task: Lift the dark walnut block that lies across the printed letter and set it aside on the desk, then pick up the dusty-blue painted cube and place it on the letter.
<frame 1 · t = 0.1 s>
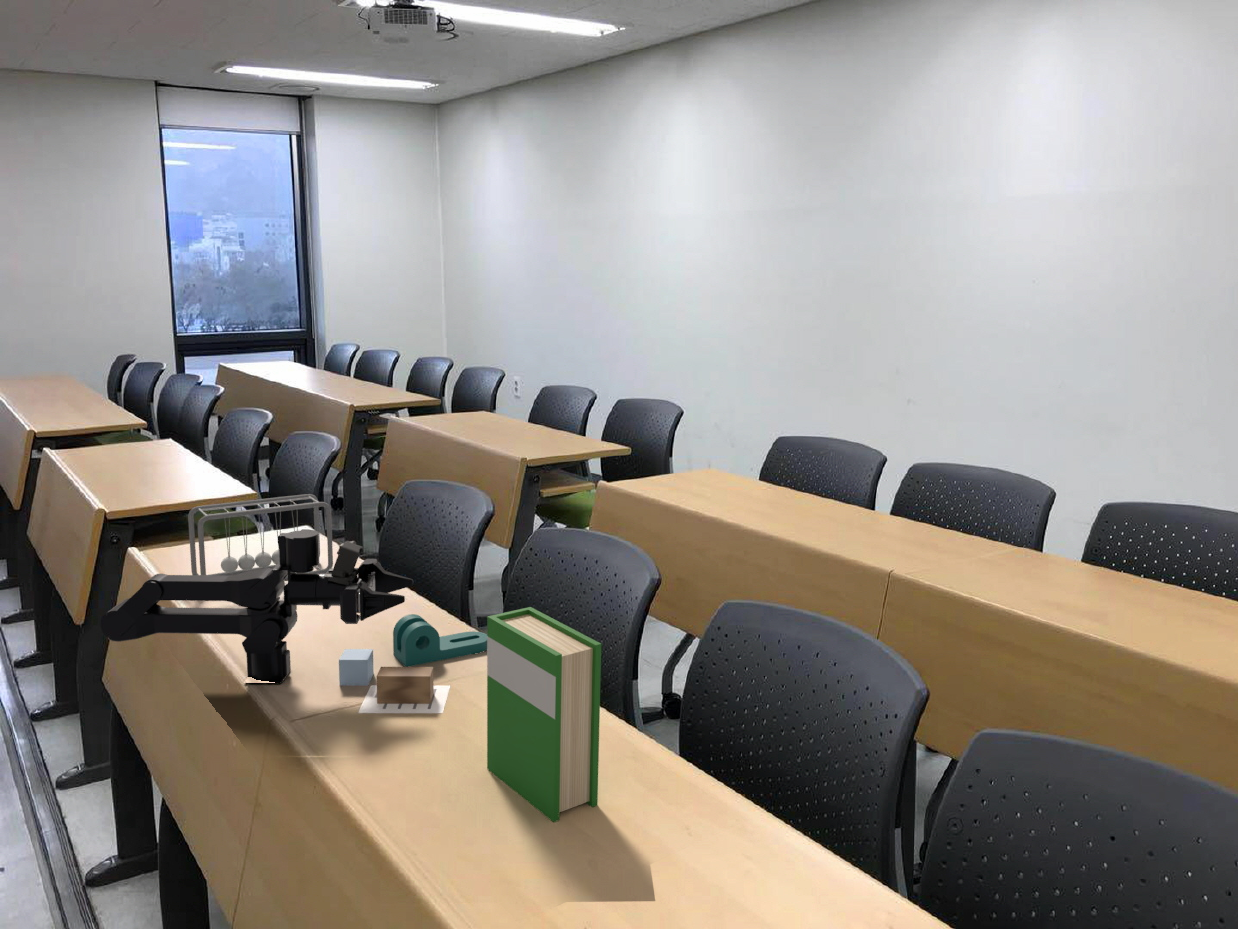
hand: (408, 590, 175), 17 cm above the table, tool horizontal, fingers open, 9 cm apart
bracket: (444, 654, 190), on the table
letter: (405, 699, 169), on the table
newton's cradle: (264, 577, 233), on the table
walnut block: (405, 698, 169), resting on letter
hardback book: (540, 788, 142), on the table
cube: (356, 680, 177), on the table
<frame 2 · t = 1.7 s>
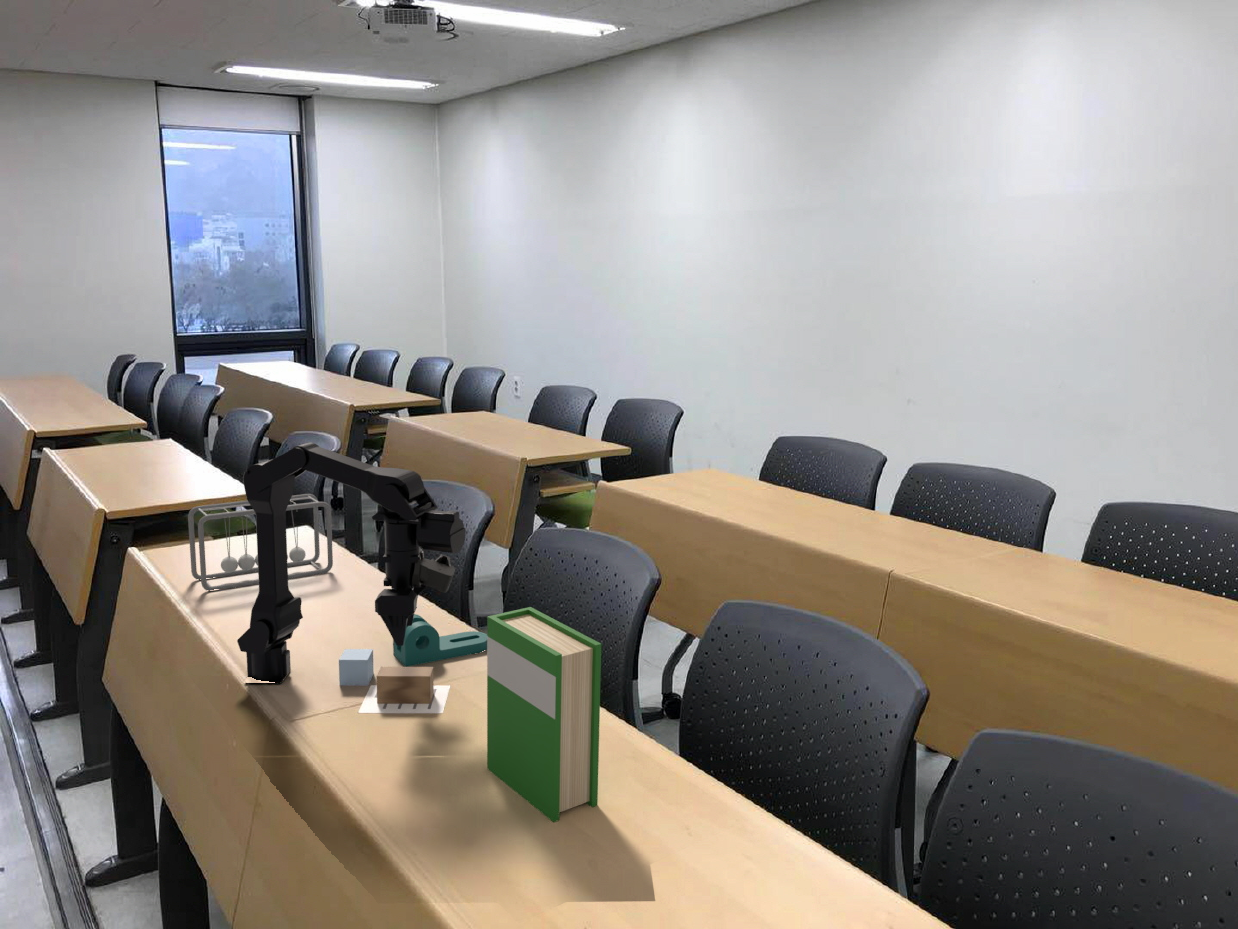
hand: (404, 635, 167), 12 cm above the table, tool pointing down, fingers open, 9 cm apart
nothing on the table moved.
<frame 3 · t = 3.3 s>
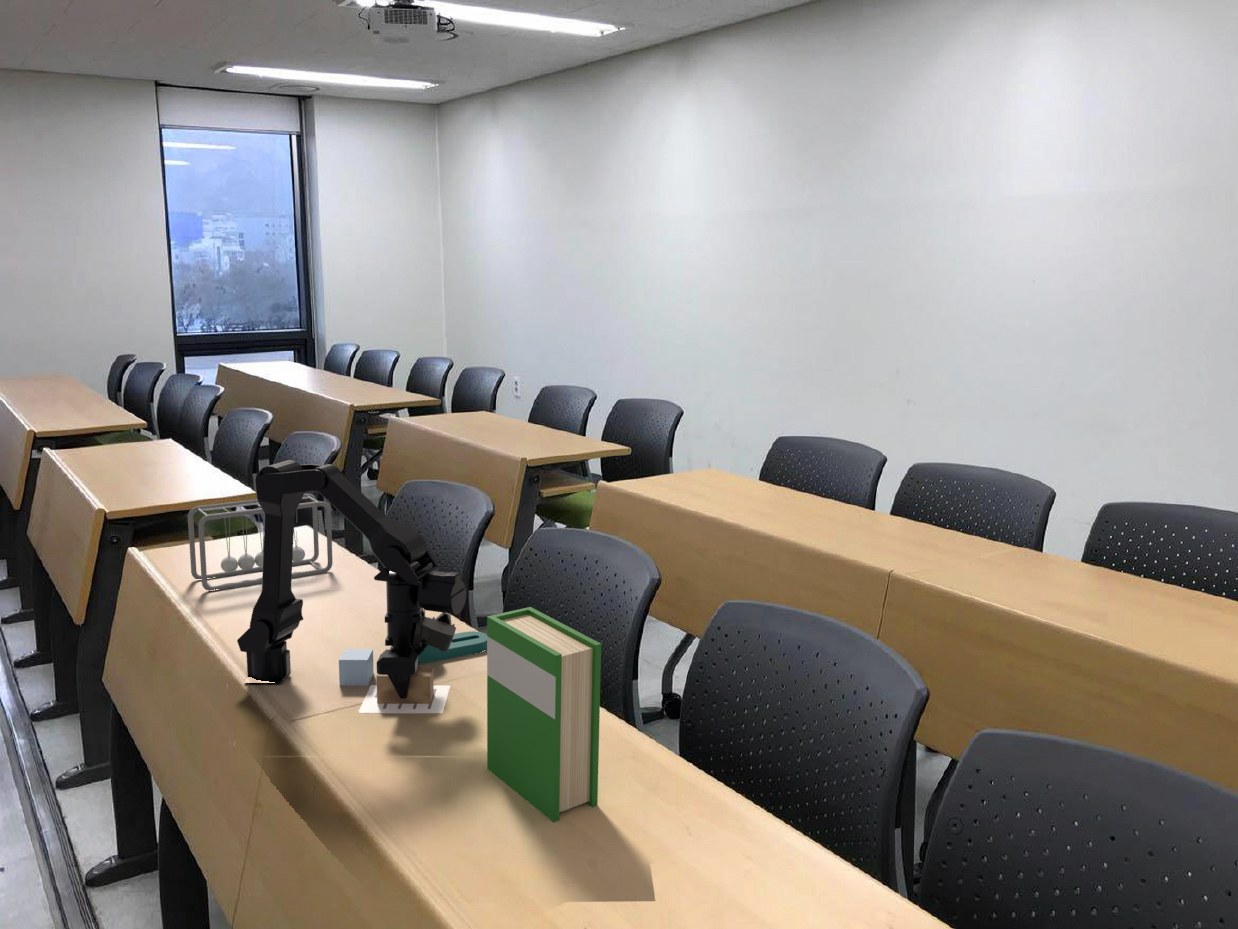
hand: (405, 692, 169), 1 cm above the table, tool pointing down, fingers closed on walnut block, 4 cm apart
walnut block: (405, 698, 169), resting on letter, touching gripper
everything else where it was.
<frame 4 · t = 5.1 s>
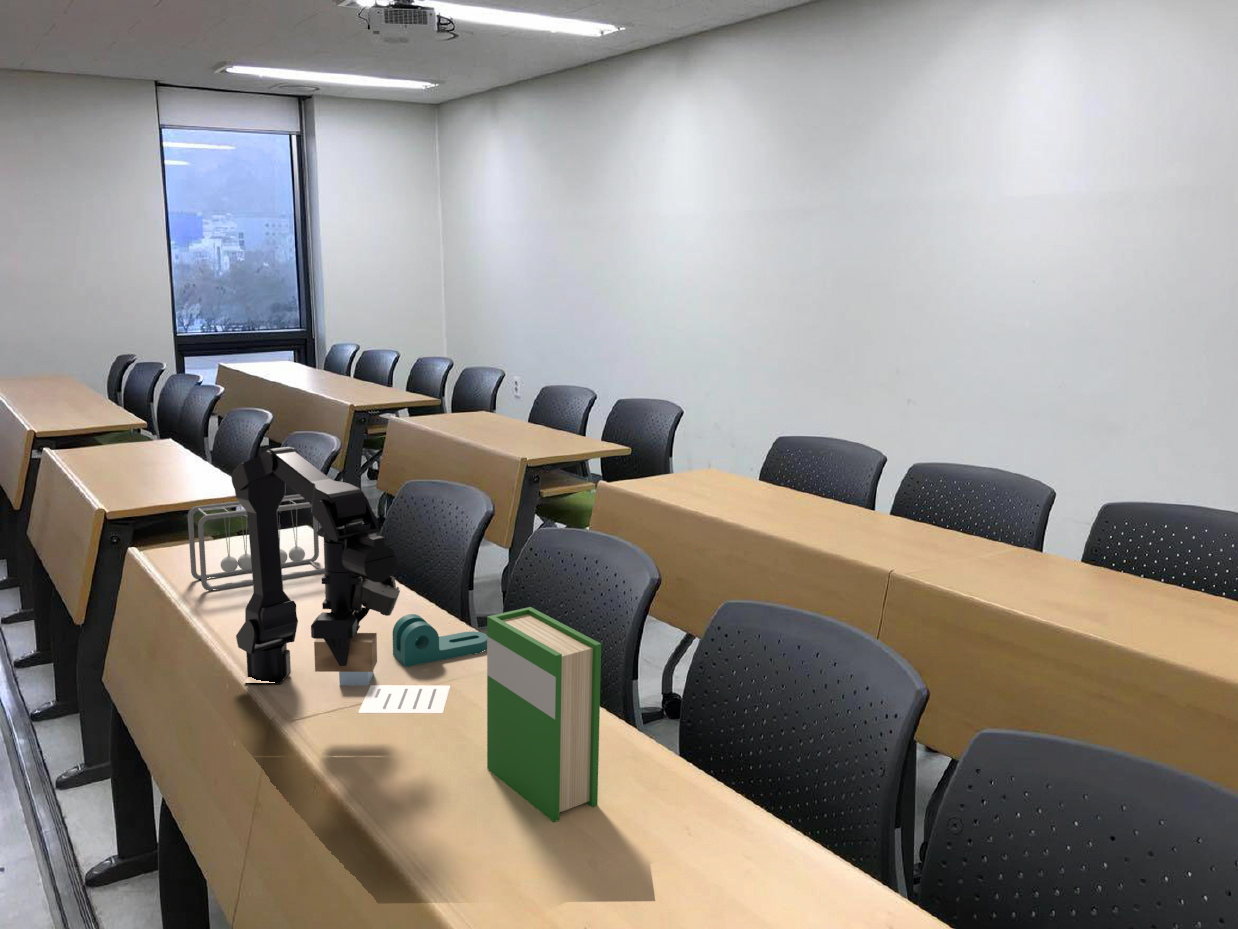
hand: (346, 660, 158), 11 cm above the table, tool pointing down, fingers closed on walnut block, 4 cm apart
walnut block: (346, 666, 158), point 10 cm above the table, touching gripper
everything else where it was.
when the fingers open (2 cm above the table, at t = 6.9 s): walnut block drops 1 cm, on the table.
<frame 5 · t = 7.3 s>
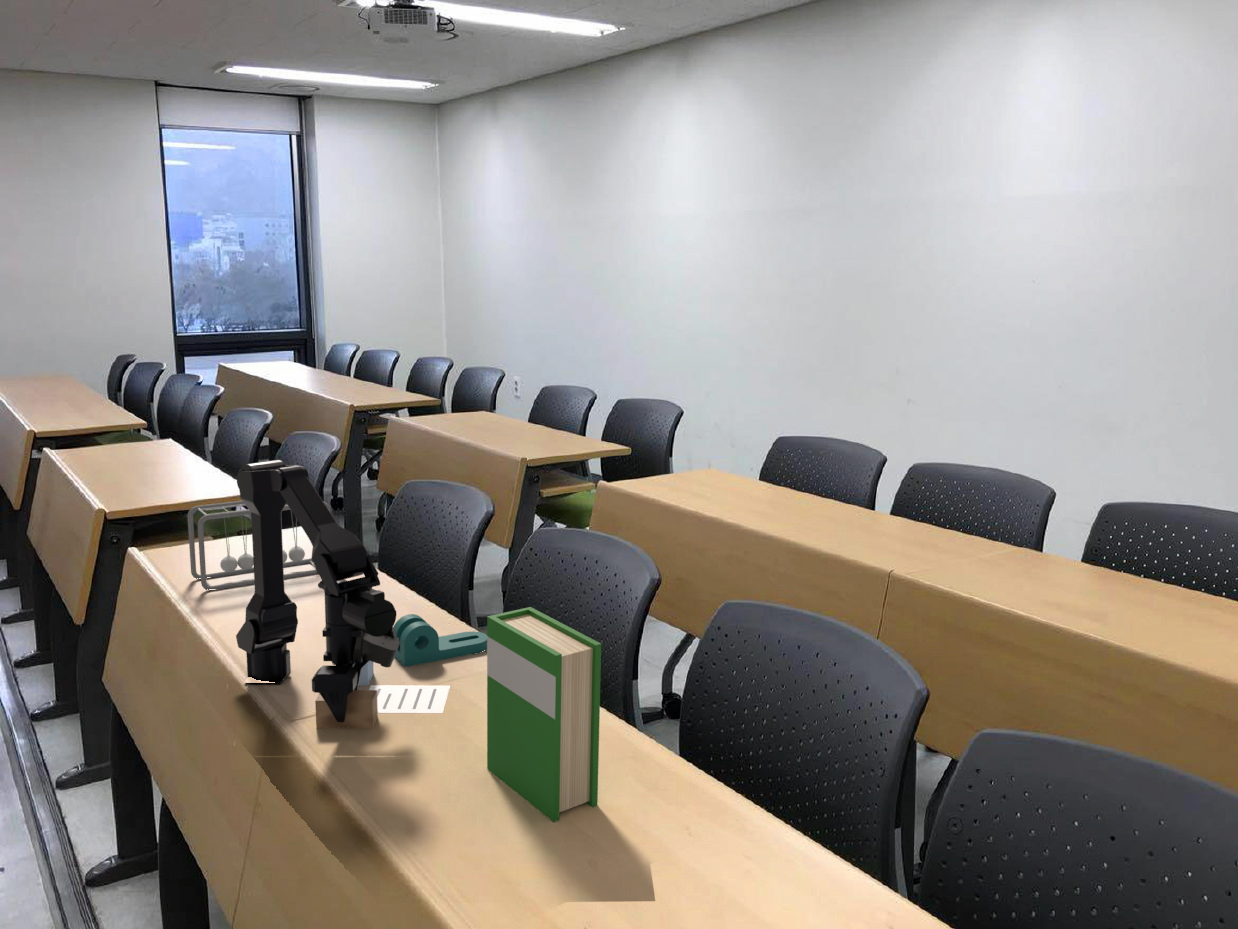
hand: (346, 710, 160), 2 cm above the table, tool pointing down, fingers open, 8 cm apart
walnut block: (347, 724, 160), on the table
everything else where it was.
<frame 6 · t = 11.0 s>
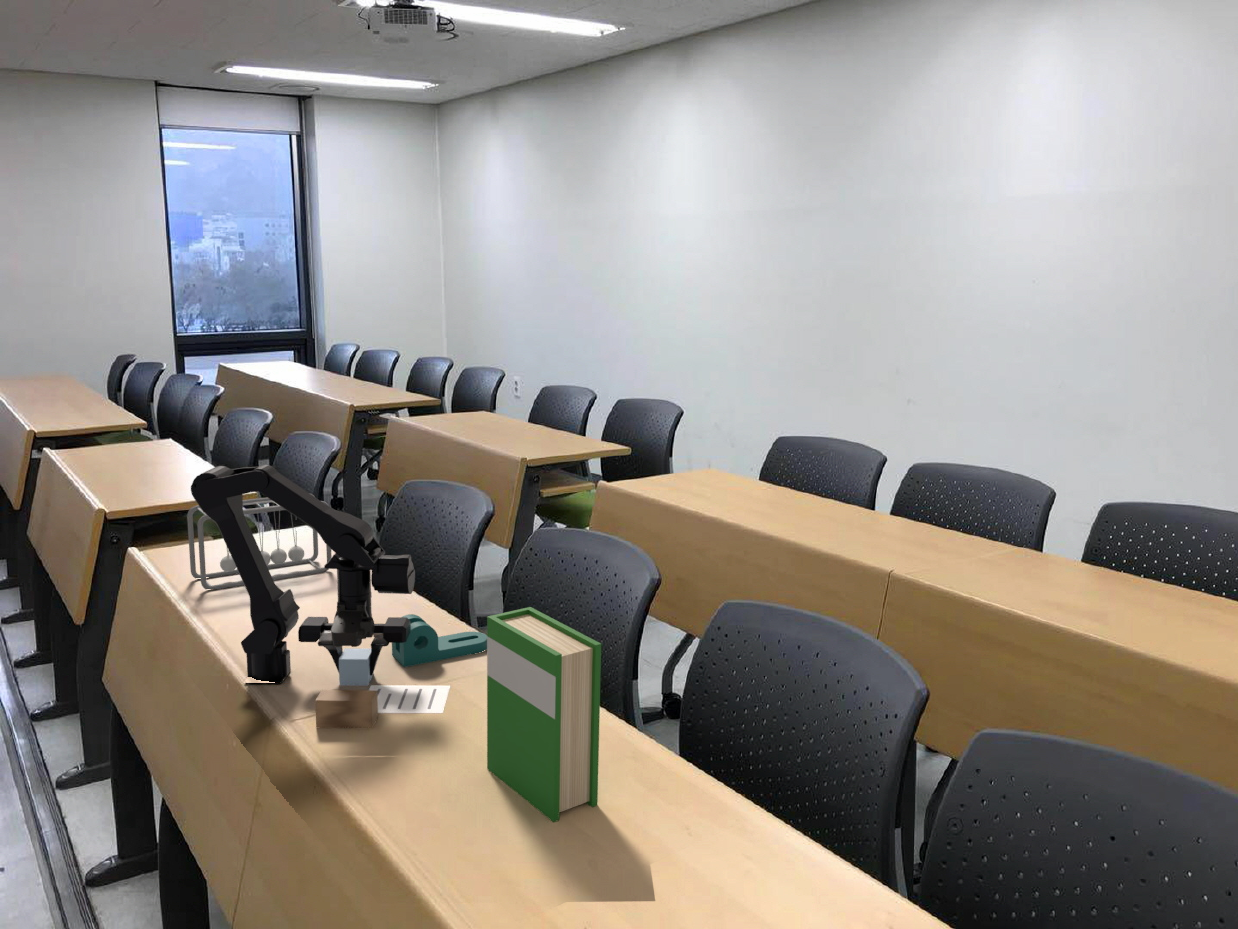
hand: (356, 674, 176), 1 cm above the table, tool pointing down, fingers closed on cube, 5 cm apart
cube: (356, 680, 177), on the table, touching gripper
everything else where it was.
when the fingers open (2 cm above the table, at t = 15.1 s): cube drops 1 cm, resting on letter.
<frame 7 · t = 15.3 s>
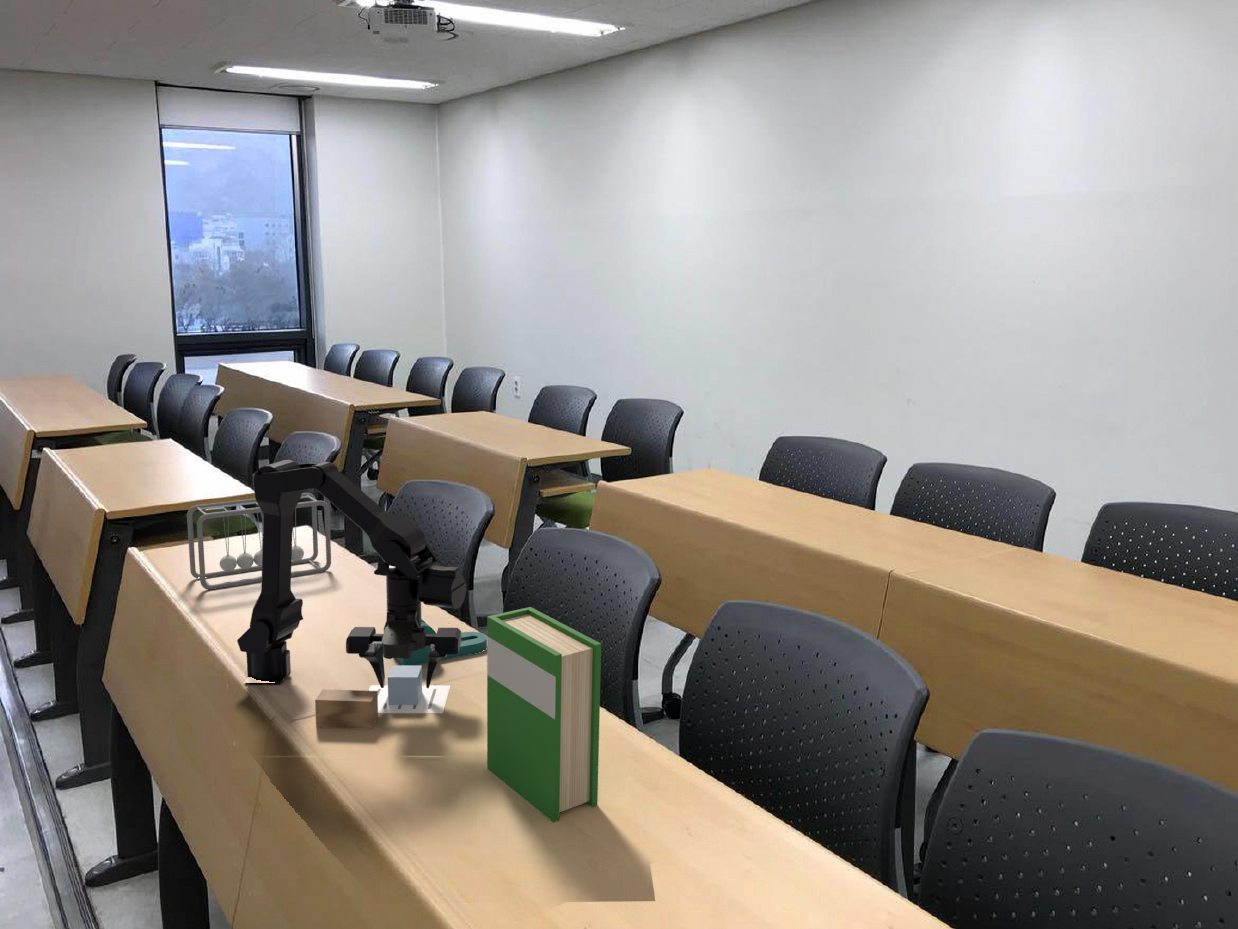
hand: (405, 687, 169), 2 cm above the table, tool pointing down, fingers open, 7 cm apart
cube: (405, 698, 169), resting on letter
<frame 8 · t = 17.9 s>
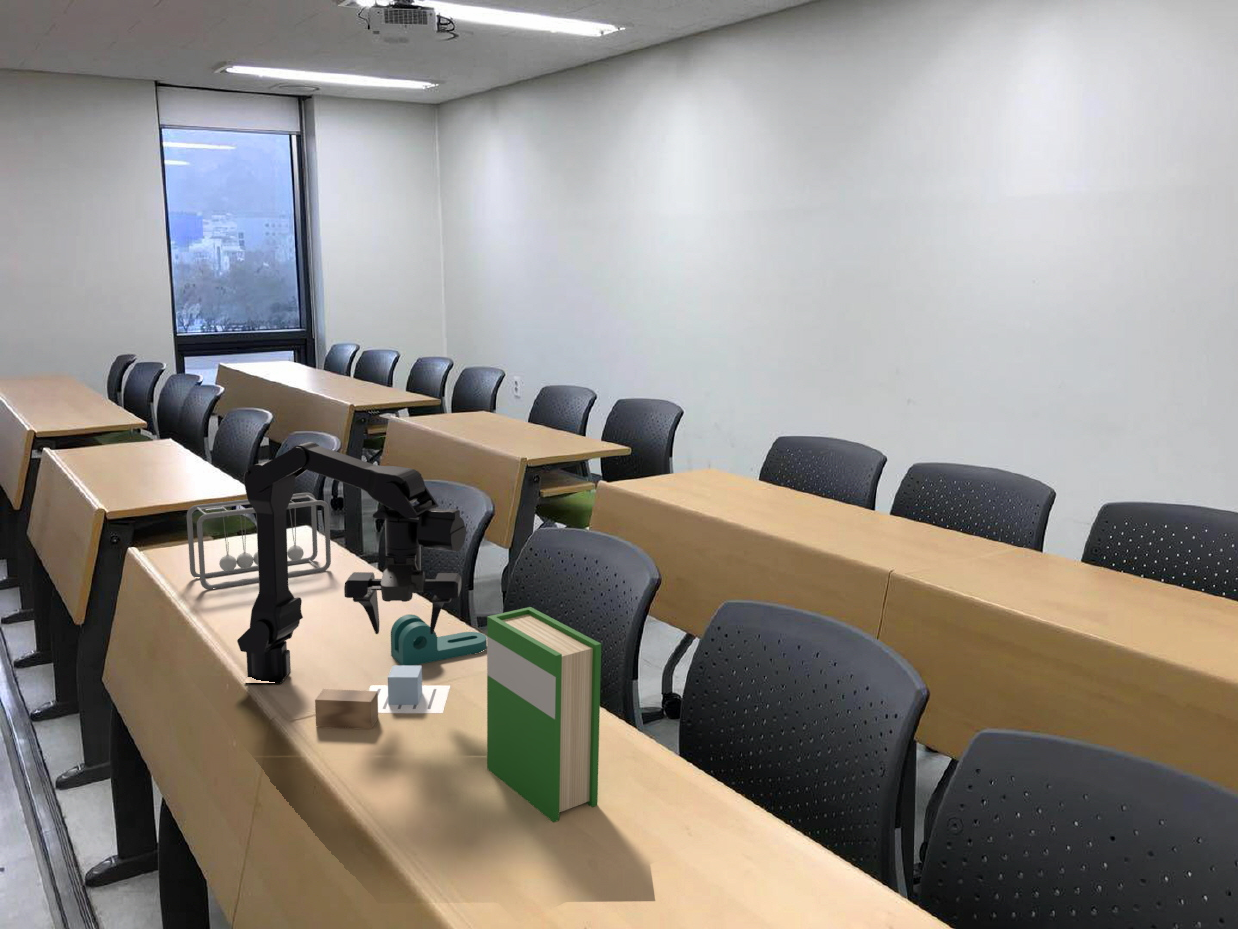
hand: (404, 633, 167), 12 cm above the table, tool pointing down, fingers open, 9 cm apart
at the end: walnut block inside the target area (4.6 cm from its centre), on the table; cube inside the target area on the letter (0.1 cm from its centre), point 0.1 cm above the letter's base; the gripper is holding nothing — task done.
